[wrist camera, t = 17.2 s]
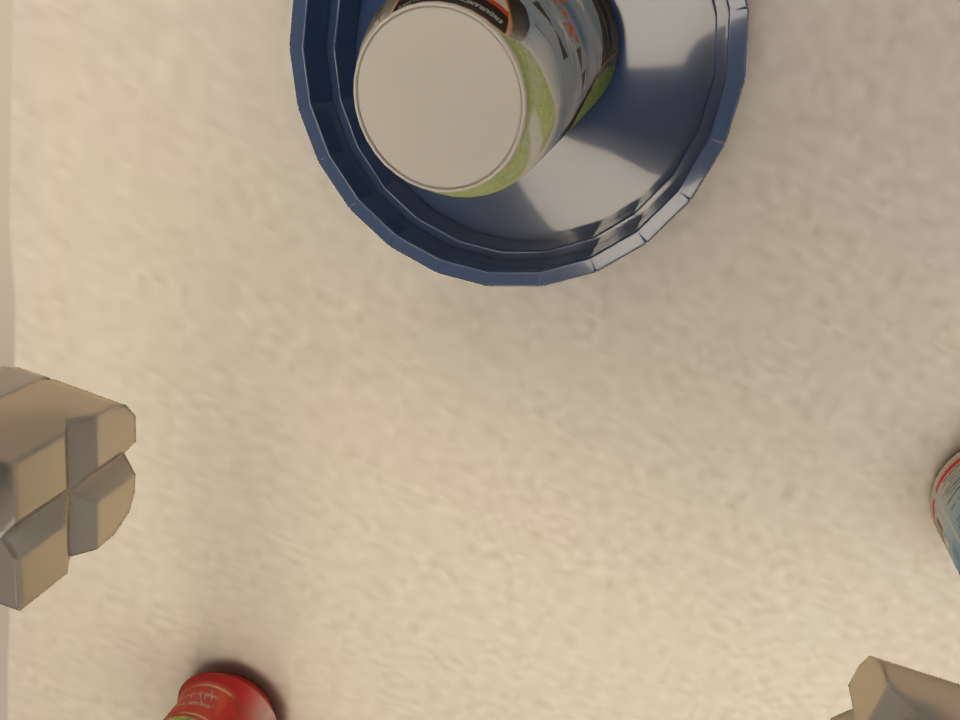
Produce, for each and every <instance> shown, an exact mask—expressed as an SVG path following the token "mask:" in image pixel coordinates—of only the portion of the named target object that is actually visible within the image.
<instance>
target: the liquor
mask: <svg viewBox="0 0 960 720" xmlns="http://www.w3.org/2000/svg"><path fill="white" fill-rule="evenodd" d="M163 720H277V719H276V717H275V714H274V711H273V708H272V705H271V703H270V701H269V698H268V697H267V695H266V694H265V693H264V691H263V690H262V689H261V688H260V687H259V686H258V685H256V684H255V683H254V682H252V681H251V680H249V679H247V678H245V677H243V676H239V675H236V674H225V673H201V674H198V675H195V676H192V677H191V678H189V679H188V680H186V682H185V683H184V684H183V685H182V687H181V689H180V691H179V694H178V701H177V704H176V705H175V707H174V708H173V709H172V710H171V711H170V712H169V714H168V715H167V716H166V717H165V718H164V719H163Z"/></svg>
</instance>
